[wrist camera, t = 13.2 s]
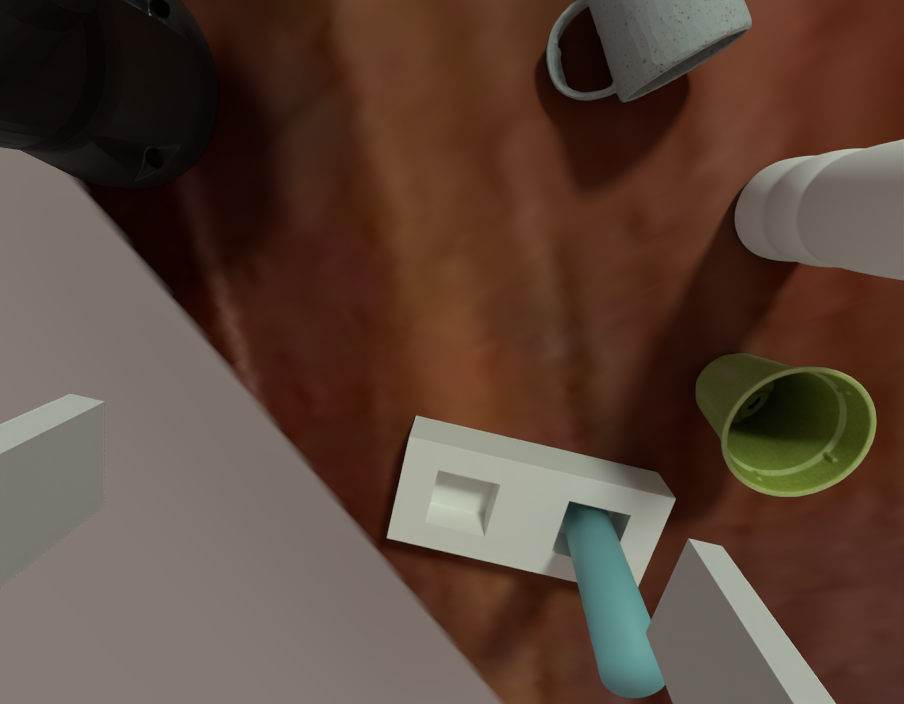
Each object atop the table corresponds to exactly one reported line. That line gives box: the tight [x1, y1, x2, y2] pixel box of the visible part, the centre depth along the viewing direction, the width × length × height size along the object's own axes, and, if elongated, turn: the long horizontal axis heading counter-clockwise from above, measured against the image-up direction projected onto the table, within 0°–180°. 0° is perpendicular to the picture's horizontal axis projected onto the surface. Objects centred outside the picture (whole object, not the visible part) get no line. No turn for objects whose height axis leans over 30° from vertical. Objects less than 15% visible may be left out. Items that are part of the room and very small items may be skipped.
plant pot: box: [696, 353, 876, 497], centre depth 35 cm, size 9×9×9 cm
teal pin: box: [562, 501, 665, 698], centre depth 35 cm, size 4×4×15 cm
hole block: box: [387, 416, 676, 587], centre depth 41 cm, size 10×22×4 cm, turn 77°
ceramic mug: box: [546, 0, 752, 102], centre depth 29 cm, size 11×8×8 cm
